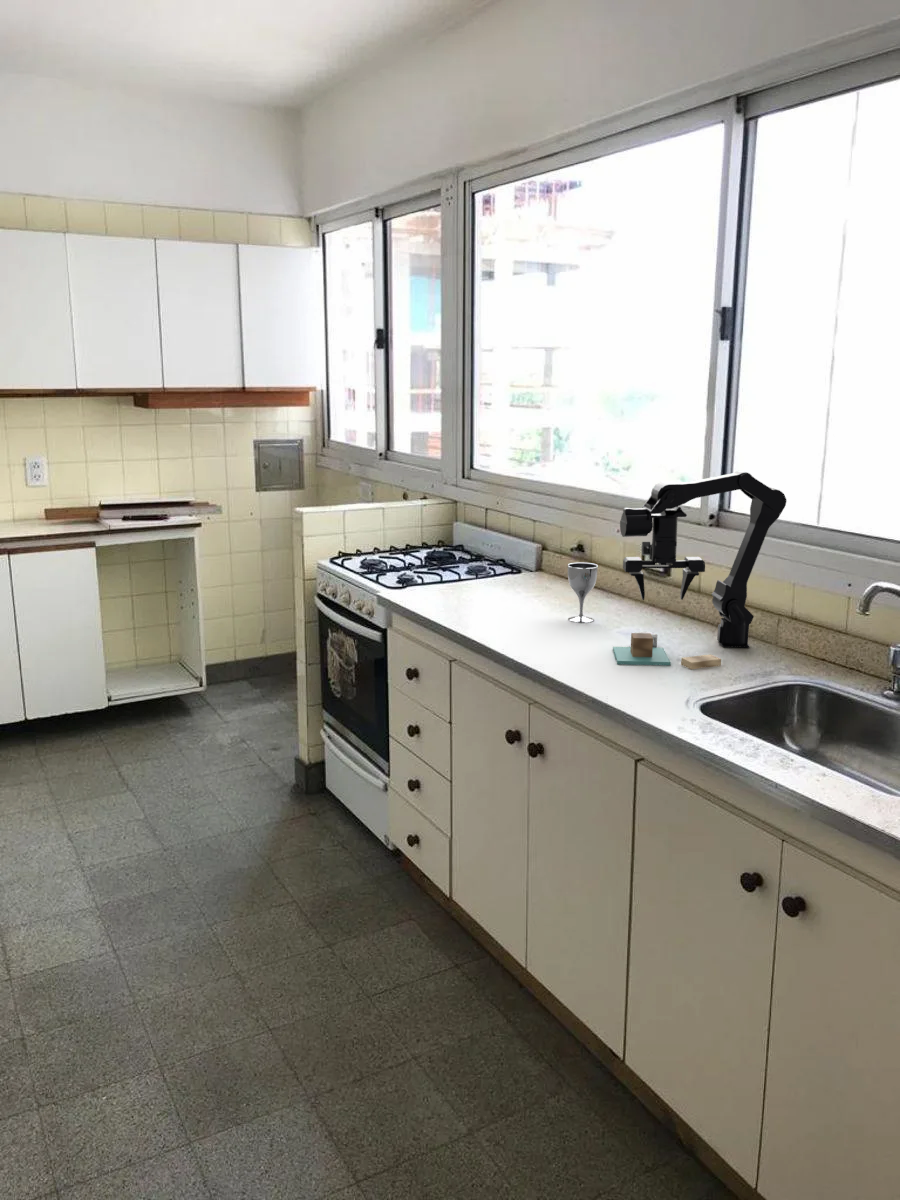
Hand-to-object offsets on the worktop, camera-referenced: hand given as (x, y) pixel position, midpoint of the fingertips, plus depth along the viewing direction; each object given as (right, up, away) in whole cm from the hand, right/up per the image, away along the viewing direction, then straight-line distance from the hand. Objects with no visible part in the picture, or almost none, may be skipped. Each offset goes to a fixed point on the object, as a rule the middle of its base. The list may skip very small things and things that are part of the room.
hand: (662, 599), depth 236 cm
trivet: (-7, -14, -7) cm, 17 cm away
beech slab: (+6, -15, -12) cm, 21 cm away
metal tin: (-4, -12, +3) cm, 13 cm away
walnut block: (-6, -13, -7) cm, 16 cm away
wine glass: (-16, -6, +28) cm, 33 cm away
